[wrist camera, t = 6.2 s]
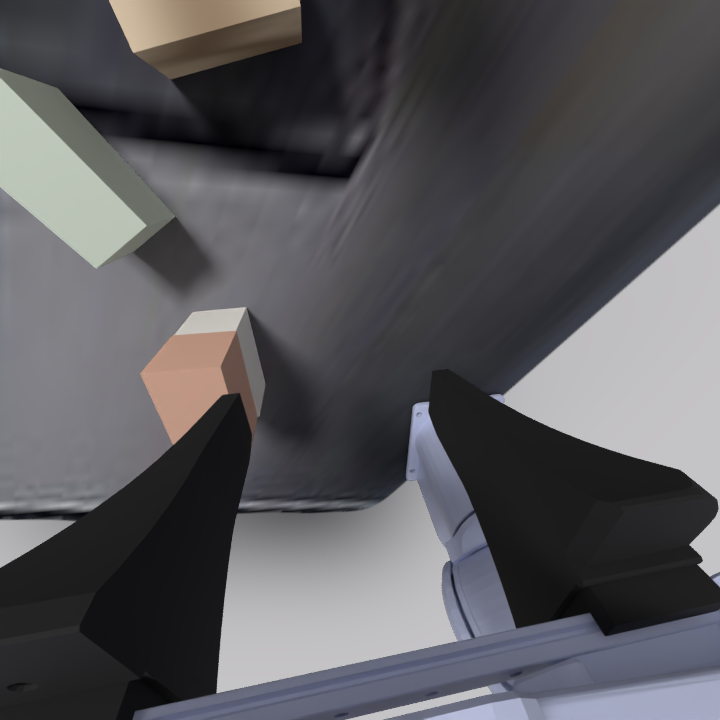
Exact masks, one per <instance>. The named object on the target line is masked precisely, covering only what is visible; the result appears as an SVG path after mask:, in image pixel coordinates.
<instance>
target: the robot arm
mask: <svg viewBox="0 0 720 720" xmlns="http://www.w3.org/2000/svg"><path fill="white" fill-rule="evenodd" d="M503 403H504V397H503V396H502V395H501V394H496V395H488V394H486V393H485V392H483V391H482V390H480V389H478V388H477V387H475V386H474V385H472V384H471V383H469V382H468V381H466V380H464V379H463V378H461V377H460V376H458V375H457V374H455V373H453V372H452V371H450V370H448V369H445V370H437V371H432V381H431V390H430V399H429V402H422V403H417V404H415V405H414V406H413V410H412V419H411V429H410V439H409V449H408V459H407V468H406V478H407V480H409V481H413V480H417V481H418V483H419V486H420V489H421V492H422V495H423V497H424V500H425V503H426V505H427V508H428V511H429V514H430V516H431V519H432V522H433V524H434V527H435V530H436V533H437V535H438V537H439V539H440V541H441V542H442V544H443V545H444V546H445V548H446V549H447V551H448V554H449V557H450V561H448V562H446V563H445V565H444V567H443V572H442V595H443V600H444V604H445V608H446V612H447V615H448V618H449V621H450V624H451V626H452V629H453V631H454V633H455V636H456V638H457V640H458V641H457V642H453V643H448V644H443V645H439V646H434V647H430V648H425V649H420V650H416V651H411V652H406V653H402V654H397V655H392V656H388V657H383V658H379V659H374V660H369V661H365V662H361V663H355V664H351V665H346V666H342V667H337V668H332V669H328V670H323V671H318V672H314V673H309V674H305V675H300V676H296V677H291V678H286V679H282V680H277V681H272V682H268V683H263V684H258V685H254V686H249V687H244V688H240V689H235V690H231V691H226V692H221V693H217V694H216V690H217V676H218V663H219V650H220V638H221V627H222V617H223V607H224V597H225V589H226V580H227V572H228V563H229V555H230V549H231V541H232V535H233V529H234V524H235V519H236V515H237V511H238V507H239V503H240V499H241V494H242V490H243V486H244V482H245V478H246V474H247V469H248V465H249V461H250V453H251V443H252V432H251V428H250V425H249V422H248V418H247V415H246V412H245V408H244V405H243V402H242V398H241V395H240V393H234V394H225V395H222V396H221V397H220V398H219V399H218V400H217V401H216V402H215V403H214V404H213V405H212V406H211V407H210V408H209V409H208V410H207V411H206V412H205V414H204V415H203V416H202V417H201V418H200V419H199V420H198V421H197V422H196V423H195V424H194V425H193V426H192V427H191V428H190V429H189V430H188V431H187V432H186V433H185V434H184V435H183V436H182V437H181V438H180V439H179V440H178V441H177V442H176V443H175V444H174V445H173V446H172V447H171V448H170V449H169V450H168V451H166V452H165V453H164V454H163V455H162V456H161V457H160V458H159V459H158V460H157V461H156V462H154V463H153V464H152V465H151V466H150V467H149V468H147V469H146V470H145V471H144V472H143V473H141V474H140V475H139V476H138V477H136V478H135V479H134V480H133V481H132V482H130V483H129V484H128V485H126V486H125V487H124V488H123V489H121V490H120V491H118V492H117V493H116V494H114V495H113V496H112V497H110V498H109V499H107V500H106V501H105V502H103V503H102V504H101V505H99V506H98V507H96V508H95V509H94V510H92V511H91V512H89V513H88V514H87V515H85V516H84V517H82V518H81V519H79V520H78V521H76V522H75V523H73V524H72V525H70V526H69V527H67V528H66V529H64V530H62V531H61V532H59V533H58V534H56V535H54V536H53V537H51V538H50V539H48V540H47V541H45V542H44V543H42V544H40V545H39V546H37V547H35V548H34V549H32V550H30V551H29V552H27V553H25V554H24V555H22V556H20V557H19V558H17V559H15V560H13V561H12V562H10V563H8V564H6V565H5V566H3V567H1V568H0V720H345V719H349V718H354V717H358V716H362V715H366V714H371V713H375V712H379V711H383V710H388V709H392V708H396V707H400V706H405V705H409V704H413V703H417V702H422V701H426V700H430V699H434V698H438V697H443V696H447V695H451V694H456V693H459V692H464V691H468V690H472V689H477V688H481V687H485V686H488V688H489V689H490V691H491V692H492V694H490V695H485V696H481V697H476V698H473V699H468V700H464V701H460V702H455V703H451V704H447V705H443V706H439V707H435V708H431V709H427V710H422V711H418V712H414V713H410V714H405V715H401V716H397V717H393V718H389V719H384V720H720V572H719V573H717V574H714V575H712V576H711V577H709V576H708V575H707V574H706V573H705V572H704V571H703V570H702V569H701V568H700V567H699V566H698V565H697V564H699V563H701V562H702V561H703V560H702V557H701V556H700V555H699V554H698V553H697V552H696V551H695V550H694V549H693V548H692V547H691V546H689V544H690V543H691V542H692V541H693V540H694V539H695V538H696V537H697V536H698V535H699V534H700V533H701V532H702V531H703V530H704V529H705V528H706V527H707V526H708V525H709V524H710V523H711V521H712V520H713V519H714V518H715V516H716V514H717V512H718V502H717V499H716V498H715V497H713V496H712V495H711V494H710V493H708V492H707V491H706V490H705V489H703V488H702V487H701V486H700V485H698V484H697V483H696V482H695V481H693V480H692V479H691V478H690V477H688V476H687V475H686V474H685V473H683V472H682V471H681V470H678V469H674V468H671V467H667V466H663V465H659V464H656V463H652V462H649V461H645V460H641V459H637V458H634V457H630V456H627V455H624V454H620V453H617V452H614V451H611V450H608V449H605V448H602V447H599V446H596V445H594V444H591V443H588V442H585V441H582V440H580V439H577V438H575V437H572V436H570V435H567V434H565V433H562V432H560V431H557V430H555V429H553V428H550V427H548V426H546V425H544V424H542V423H539V422H537V421H535V420H533V419H531V418H529V417H527V416H525V415H523V414H521V413H519V412H517V411H516V410H514V409H512V408H510V407H508V406H506V405H505V404H503ZM419 412H420V413H419ZM417 413H419V414H417Z"/></svg>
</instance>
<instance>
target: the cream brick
mask: <svg viewBox="0 0 720 720" xmlns="http://www.w3.org/2000/svg"><path fill="white" fill-rule="evenodd" d="M226 331H237V335H238V339H239V343H240V347H241V351H242V355H243V359H244V363H245V367H246V371H247V375H248V380H249V384H250V388H251V392H252V396H253V400H254V404H255V408H256V412H257V416H258V417H260V411H261V406H262V401H263V396H264V390H265V385H266V384H265V380H264V376H263V372H262V368H261V364H260V360H259V356H258V352H257V348H256V344H255V340H254V336H253V332H252V328H251V324H250V320H249V316H248V312H247V308H246V307H243V308H232V309H221V310H210V311H199V312H193V313H192V314H191V315H190V316H189V318H188V319H187V320H186V321H185V322H184V324H183V325H182V326H181V327H180V328H179V330H178V331H177V332H176V333H175V335H185V334H198V333H212V332H226Z"/></svg>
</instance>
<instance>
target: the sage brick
mask: <svg viewBox="0 0 720 720" xmlns="http://www.w3.org/2000/svg"><path fill="white" fill-rule="evenodd" d="M0 187H1V188H2V189H3V190H4V191H6V192H7V193H8V194H9V195H10V196H11V197H13V198H14V199H15V200H16V201H17V202H18V203H20V204H21V205H22V206H23V207H24V208H26V209H27V210H28V211H29V212H30V213H31V214H33V215H34V216H35V217H36V218H37V219H38V220H40V221H41V222H42V223H43V224H44V225H46V226H47V227H48V228H49V229H50V230H51V231H53V232H54V233H55V234H56V235H57V236H58V237H60V238H61V239H62V240H63V241H64V242H66V243H67V244H68V245H69V246H70V247H71V248H73V249H74V250H75V251H76V252H77V253H78V254H80V255H81V256H82V257H83V258H84V259H86V260H87V261H88V262H89V263H90V264H91V265H93V266H94V267H95V268H96V269H97V268H99V267H101V266H104V265H106V264H108V263H110V262H113V261H115V260H117V259H119V258H121V257H124V256H126V255H128V254H130V253H133V252H134V251H135V250H136V249H138V248H139V247H140V246H141V245H142V244H144V243H145V242H146V241H147V240H148V239H150V238H151V237H152V236H153V235H154V234H155V233H157V232H158V231H159V230H160V229H161V228H163V227H164V226H165V225H166V224H167V223H169V222H170V221H171V220H172V219H173V218H175V217H176V216H175V215H174V214H173V213H172V212H171V211H170V210H169V209H168V208H167V206H166V205H165V204H164V203H163V202H162V201H161V200H160V199H159V198H158V197H157V196H156V195H155V193H154V192H153V191H152V190H151V189H150V188H149V187H148V186H147V185H146V184H145V183H144V181H143V180H142V179H141V178H140V177H139V176H138V175H137V174H136V173H135V172H134V171H133V170H132V168H131V167H130V166H129V165H128V164H127V163H126V162H125V161H124V160H123V159H122V158H121V156H120V155H119V154H118V153H117V152H116V151H115V150H114V149H113V148H112V147H111V146H110V145H109V143H108V142H107V141H106V140H105V139H104V138H103V137H102V136H101V135H100V134H99V133H98V131H97V130H96V129H95V128H94V127H93V126H92V125H91V124H90V123H89V122H88V121H87V120H86V118H85V117H84V116H83V115H82V114H81V113H80V112H79V111H78V110H77V109H76V108H75V107H74V105H73V104H72V103H71V102H70V101H69V100H68V99H67V98H66V97H65V96H64V95H63V93H62V92H61V91H60V90H59V89H58V88H55V87H52V86H50V85H47V84H44V83H41V82H38V81H35V80H32V79H30V78H27V77H24V76H21V75H18V74H15V73H12V72H9V71H7V70H4V69H1V68H0Z"/></svg>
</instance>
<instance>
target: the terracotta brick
mask: <svg viewBox="0 0 720 720" xmlns="http://www.w3.org/2000/svg"><path fill="white" fill-rule="evenodd" d="M140 374H141V377H142V379H143V381H144V383H145V385H146V387H147V389H148V392H149V394H150V396H151V398H152V400H153V402H154V405H155V407H156V409H157V411H158V413H159V415H160V417H161V420H162V422H163V424H164V426H165V428H166V430H167V432H168V435H169V437H170V439H171V441H172V443H173V445H174V444H175V443H176V442H177V441H178V440H179V439H180V438H181V437H182V436H183V435H184V434H185V433H186V432H187V431H188V430H189V429H190V428H191V427H192V426H193V425H194V424H195V423H196V422H197V421H198V420H199V419H200V418H201V417H202V416H203V415H204V414H205V412H206V411H207V410H208V409H209V408H210V407H211V406H212V405H213V404H214V403H215V402H216V401H217V400H218V399H219V398H220V397H221V396H222V395H225V394H234V393H240V395H241V398H242V402H243V405H244V408H245V412H246V415H247V418H248V422H249V425H250V428H251V432H252V442H253V437H254V432H255V427H256V422H257V417H258V416H257V412H256V408H255V404H254V400H253V396H252V392H251V388H250V384H249V380H248V375H247V371H246V367H245V363H244V359H243V355H242V351H241V347H240V343H239V339H238V335H237V331H226V332H212V333H198V334H185V335H172V336H171V337H170V339H169V340H168V341H167V342H166V343H165V345H164V346H163V347H162V348H161V349H160V351H159V352H158V353H157V354H156V355H155V357H154V358H153V359H152V360H151V361H150V363H149V364H148V365H147V366H146V367H145V369H144V370H143V371H142V372H141V373H140ZM251 447H252V443H251Z"/></svg>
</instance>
